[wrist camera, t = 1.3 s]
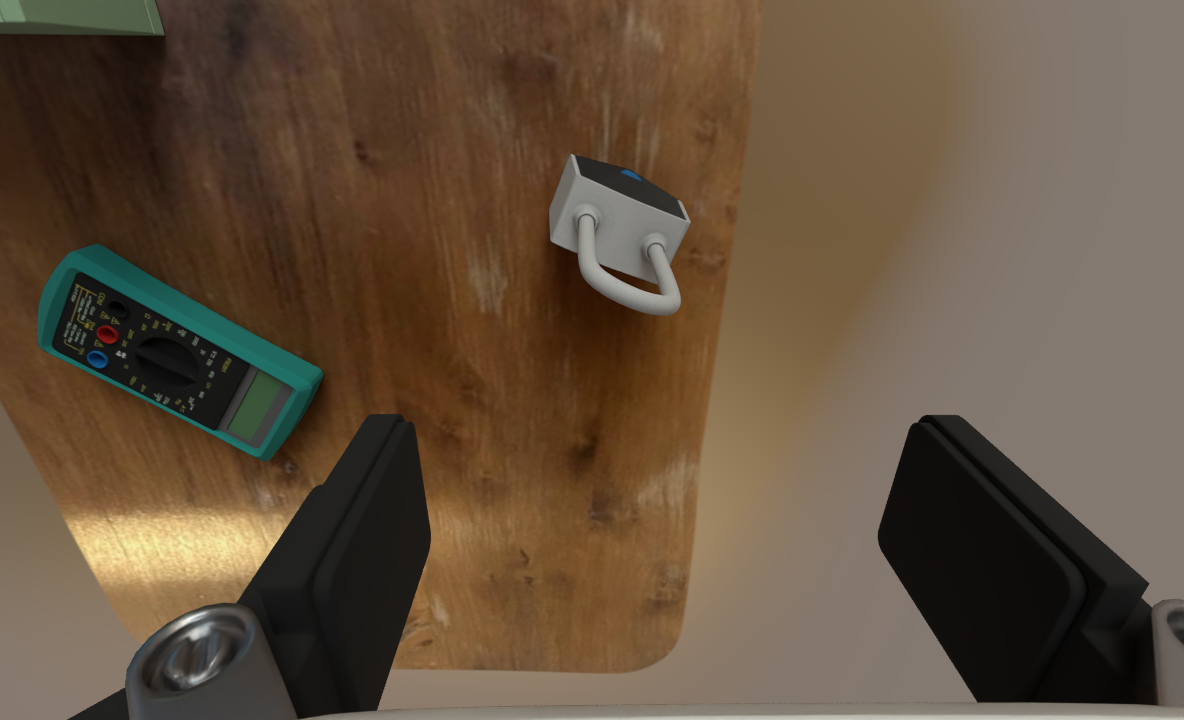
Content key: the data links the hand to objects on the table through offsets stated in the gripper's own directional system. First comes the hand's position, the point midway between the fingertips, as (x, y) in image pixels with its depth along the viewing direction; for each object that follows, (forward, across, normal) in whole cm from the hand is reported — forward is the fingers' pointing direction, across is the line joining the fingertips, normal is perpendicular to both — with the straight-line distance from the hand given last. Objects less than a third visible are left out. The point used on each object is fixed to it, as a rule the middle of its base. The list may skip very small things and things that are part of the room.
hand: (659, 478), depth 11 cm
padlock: (+24, 0, 0) cm, 24 cm away
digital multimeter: (+24, +26, +9) cm, 36 cm away
